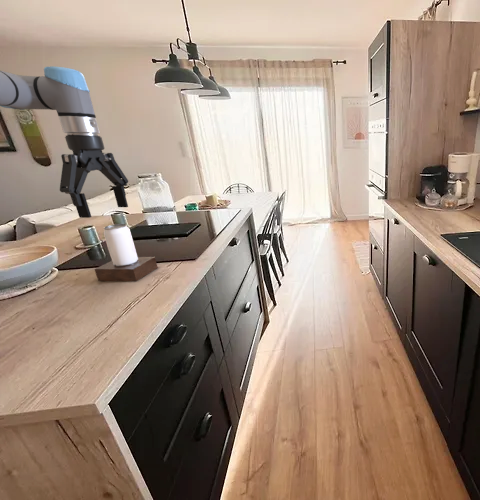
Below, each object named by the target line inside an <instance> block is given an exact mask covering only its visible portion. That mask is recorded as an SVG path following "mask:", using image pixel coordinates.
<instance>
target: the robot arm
mask: <svg viewBox="0 0 480 500" xmlns="http://www.w3.org/2000/svg"><path fill="white" fill-rule="evenodd" d="M0 107H2V108H4V109H12V110H20V111H23V110H25V111H26V110H51V111H56V113H57V116H58V120H59V123H60V127H61V129H62V132H63V133H64V134H66V135H65V136H64V139H65V142H66V145H67V148H68V149H69V150H70V151H72V154H71V153H62V154H61V156H60V157H61V161H62V167H61V176H60V184H59V191H60V193H64V194H67V195H69V196H70V198H71V201H72V202H71V203H72V204H73V207H75V209H76V211H77V214H78V215H77V216H78V217H79V218H82V219H84V218H85V219H86V218H88V219H90V218H92V215H91V214H92V213H91V210H90V207H89V204H88V201H87V198H86V195H85V193H84V192H82V190H83V187H84V185H85V182H86V179H87V177H88V175H89V173H91V172H95V171H99V172H100V173H101V174H102V175H103V176H104V177H105V178H107V180H108V181H110V182H111V184H113V186H112V190H113V195H114V198H115V201H116V205H117V208H129V203H128V201H127V197H126V195H127V194H126V191H125V187H127V185H128V183H129V179H128V178H127V176H126V175H125V173H124V171H123V170H122V168H121V167H120V166H119V164H118V163H117V161H116V160H115V157H114V153H112V152H103V151H104V150H105V145H104V142H103V141H104V140H103V137H102V136H101V135H99V134H100V133H101V132H100V127H99V124H98V120H97V116H96V114H95V110H94V105H93V102H92V97H91V94H90V89H89V86H88V84H87V81H86V78H85V76H84V74H83V73H82V72H81V71H79V70H77V69H73V68H69V67H63V66H45V67H44V68H43V75H42V76H37V75H23V74H15V73H11V72H9V71H8V72H7V71H3V70H0ZM81 192H82V193H81Z"/></svg>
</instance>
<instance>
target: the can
mask: <svg viewBox="0 0 480 500" xmlns="http://www.w3.org/2000/svg"><path fill="white" fill-rule="evenodd" d="M103 237H104V240H105V243H106V246H107V250H108V253H109V255H110V259H111V261H112V262H113V264H114V265H115V266H127V265H131V264H133V263H135V262H137V260H138V257H139V256H138V253H137V250H136V246H135V243H134V239H133V236H132V232H131V230H130V228H129V227H128V224H126V223H116V224H110V225H107V226H104V227H103Z"/></svg>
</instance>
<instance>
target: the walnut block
mask: <svg viewBox="0 0 480 500" xmlns="http://www.w3.org/2000/svg"><path fill="white" fill-rule="evenodd" d="M137 257H138V260H137V262H135V263H133V264H131V265H127V266H115V265H114V264H113V262H112V260H110V261H109V262H106V263H104V264H102V265H100V266H98V267H96V268H94V272H95V275H96V278H97V281H98V282H137V281H139V280H141V279H142V278H144V277H146V276H147V275H149V274H150V273H152V272H153V271H155V270H157V269H158V268H159V267H158V264H157V261H156V256H137Z"/></svg>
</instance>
